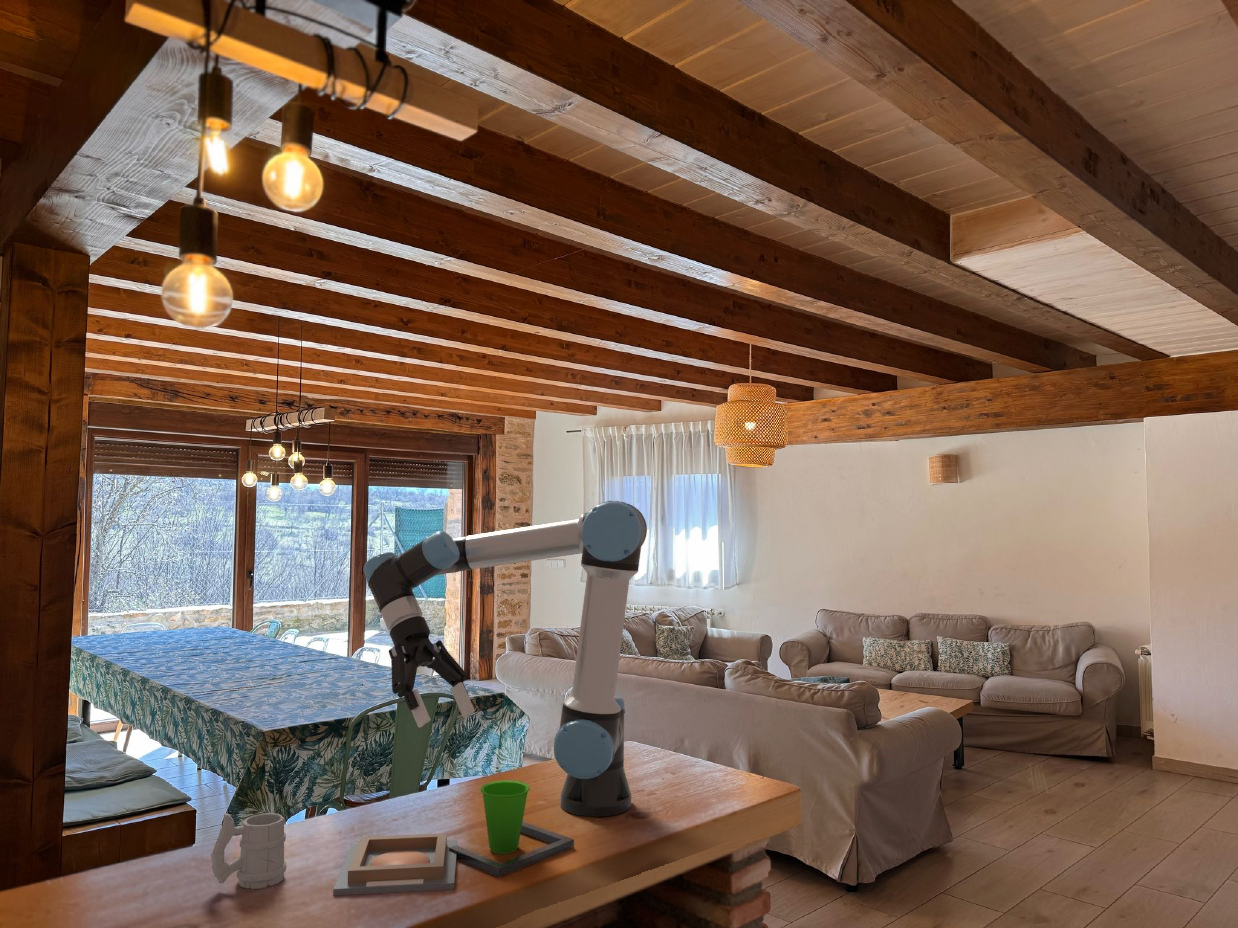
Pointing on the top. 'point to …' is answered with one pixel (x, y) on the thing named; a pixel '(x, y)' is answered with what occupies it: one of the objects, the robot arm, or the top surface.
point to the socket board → (400, 888)
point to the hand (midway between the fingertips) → (447, 719)
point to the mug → (252, 851)
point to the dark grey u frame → (501, 869)
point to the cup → (504, 813)
